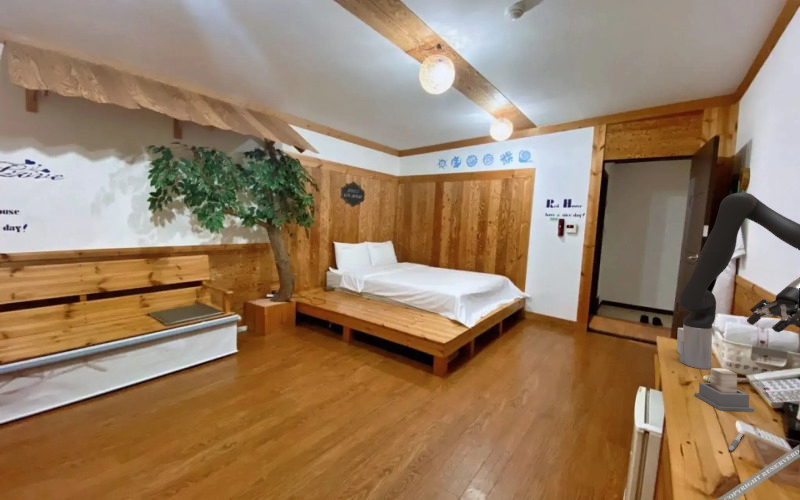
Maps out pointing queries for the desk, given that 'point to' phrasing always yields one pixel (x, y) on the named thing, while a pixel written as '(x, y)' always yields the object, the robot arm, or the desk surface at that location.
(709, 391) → the pocket stand
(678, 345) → the skincare box
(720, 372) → the cream block
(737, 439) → the pen
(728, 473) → the desk surface
